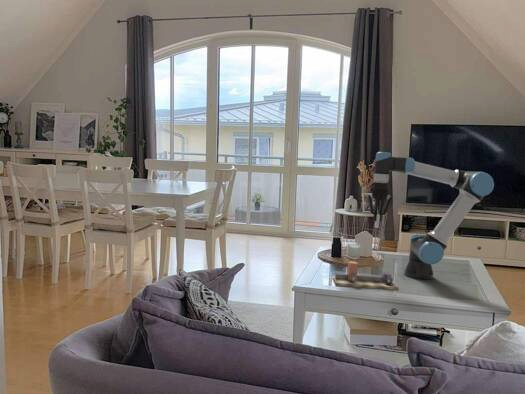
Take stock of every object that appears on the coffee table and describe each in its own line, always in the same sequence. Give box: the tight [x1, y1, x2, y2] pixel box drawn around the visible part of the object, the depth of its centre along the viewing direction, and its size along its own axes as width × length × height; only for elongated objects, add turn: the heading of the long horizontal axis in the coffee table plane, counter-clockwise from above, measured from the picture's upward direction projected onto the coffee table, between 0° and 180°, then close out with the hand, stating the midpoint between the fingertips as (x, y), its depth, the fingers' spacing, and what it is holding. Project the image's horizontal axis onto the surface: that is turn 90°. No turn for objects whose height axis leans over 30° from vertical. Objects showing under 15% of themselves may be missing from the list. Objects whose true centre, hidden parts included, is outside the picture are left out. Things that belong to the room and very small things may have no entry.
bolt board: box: [331, 276, 399, 291], centre depth 238 cm, size 30×12×1 cm, turn 89°
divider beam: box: [334, 272, 394, 284], centre depth 238 cm, size 28×7×6 cm, turn 89°
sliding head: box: [346, 260, 359, 281], centre depth 238 cm, size 4×8×8 cm, turn 179°
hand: (376, 227), depth 251 cm, fingers closed
